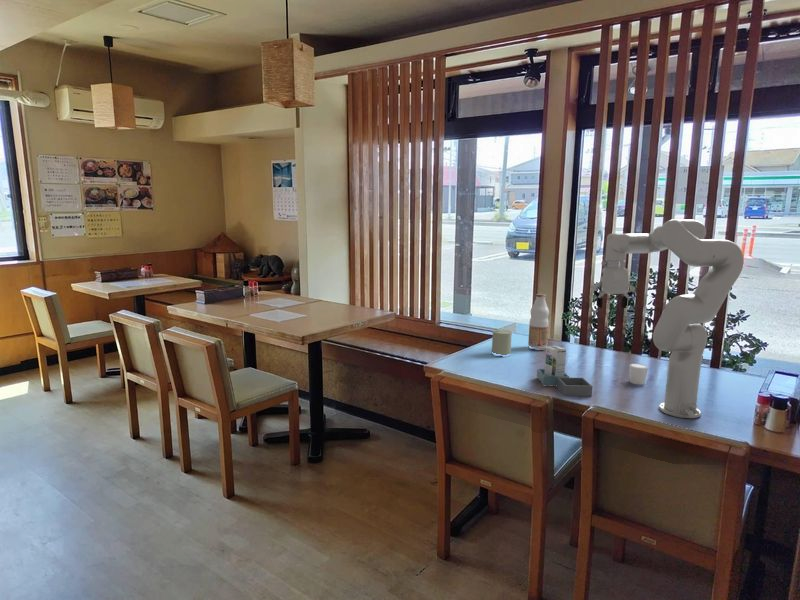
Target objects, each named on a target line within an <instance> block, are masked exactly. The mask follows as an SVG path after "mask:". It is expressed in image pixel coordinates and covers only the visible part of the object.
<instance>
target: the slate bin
mask: <svg viewBox="0 0 800 600" xmlns="http://www.w3.org/2000/svg"><path fill="white" fill-rule="evenodd" d="M544 373H545V368H537V370H536V378H537V377H538V379H539V380H540V381H541V383H542V384H543V385H557V377H566V378H570V376H569V375H568V374H567V373H566V372H565V371H564V376H544ZM538 379H537V380H538ZM539 380H538V381H539ZM541 383H540V384H541ZM542 384H541V385H542ZM543 385H542V386H543Z"/></svg>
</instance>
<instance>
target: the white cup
mask: <svg viewBox="0 0 800 600" xmlns="http://www.w3.org/2000/svg"><path fill="white" fill-rule="evenodd" d="M628 368H629V383H631V384H634V385H639V386H640V385H645V383H646V379H647V375H648V368H649V366H648V365H646V364H642V363H629V367H628Z"/></svg>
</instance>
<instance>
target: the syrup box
mask: <svg viewBox="0 0 800 600" xmlns="http://www.w3.org/2000/svg"><path fill="white" fill-rule="evenodd" d="M566 357H567V349H566V348H564V347H561V346H558V345H549V346H548V345H547V347H546V350H545V358H544V359H545V360H544V369H545V373H544V376H564V372H565V371H566V368H565V367H566Z"/></svg>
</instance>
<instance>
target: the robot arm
mask: <svg viewBox="0 0 800 600" xmlns="http://www.w3.org/2000/svg"><path fill="white" fill-rule="evenodd" d="M706 235H707V229H706V226H705V225H704V223H702V222H701V221H698V220H696V219H681V218H680V219H677V218H674V219H670V220H667V221H665V222H664V223H663V224H662V225H658V226H657V227H655V229H653V232H650V233H609V234H607V237H606V247H605V260H604V261H601V266H604V267H603V268H602V271H601V274H600V279H599V282H597V283H595V284H594V285H591V286H590V288H591V291H592V293H593V295H594V296H595V297H596V306H597V308H599V309H602V308H603V299H604V298H603V297H604V295H605V294H606V295H621V296H622V297H621V303H620V304H621V308H623V309H627V307H628V301H629V299H630V297H631V296H632V295H633V294H634V292H635V291H636V287H635V286H634V285H632V284H630V283H629V270H628V268H626V262H627V255H629V254H650V253H651V254H652V253H658V252H662V251H665V250H670V251H671V253H673V254H674V255H675V256H677V258H679V259H680V260H681V261H682V262H683V263H684V264H686V265H687V266H691V267H694V268H695V267H698V268H700V267H705V268H706V267H712V268H711V269H710V270H709V271H708V272H707V273H706V274H704V275H703V276H702V278H701V279H700V281H699V283H698V285H697V287H696V288H695V290H694V291H693V292H692V293H690V294H680V295H677V296H674V297H673V298H671V299H670V300H669V301H668V302H667V304H666V306H665V307H664V309H663V312H661V315H660V316H659V319H658V322H656V325H655V327H654V330H653V335H652V340H653V344H654V346H655V347H656V348H657V349H658V350H660V351H663V352H670V353H671V354H670V355H669V358H668V359H669V360H668V365H667V366H668V367H667V372H666V373H667V374H666V385H665V392H664V393H665V394H664V402H661V403H660V404H659V405H658V409H659V410H660V411H661V412H662V413H665V414H666V415H669V416H672V417H675V418H682V419H698V418H699V417H701V414H702V413H701V410H700V409H699V408H698V407H697V406H698V404H697V402H698V401H697V400H698V393H699V383H700V374H701V368H702V360H703V354H704V352H705V350H706V346H707V342H708V331H707V330H706V328H705V326H704V325H703V324H706V323H709V322H712V321H713V320H714V319H715V318H716V315H717V314H718V312H719V310H720V309H721V308H722V305H723V303H724V302H725V300H726V298H727V296H728V294H729V293H730V291H731V290H732V287H733V286H734V284H735V283H736V281H737V280H738V278H739V276H740V275H741V272H742V271H743V268H744V264H745V263H744V262H745V261H744V259H745V258H744V254H743V251H742V250H741V248H740V246H739V245H738V244H737V243H735V242H733V241H731V240H728V239H719V238H717V239H715V238H711V239H710V238H709V239H705V238H706ZM597 288H598V291H597Z"/></svg>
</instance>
